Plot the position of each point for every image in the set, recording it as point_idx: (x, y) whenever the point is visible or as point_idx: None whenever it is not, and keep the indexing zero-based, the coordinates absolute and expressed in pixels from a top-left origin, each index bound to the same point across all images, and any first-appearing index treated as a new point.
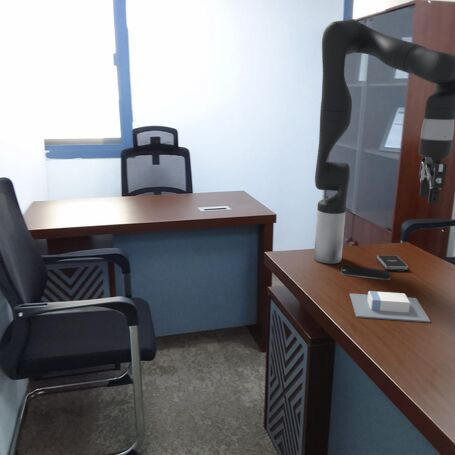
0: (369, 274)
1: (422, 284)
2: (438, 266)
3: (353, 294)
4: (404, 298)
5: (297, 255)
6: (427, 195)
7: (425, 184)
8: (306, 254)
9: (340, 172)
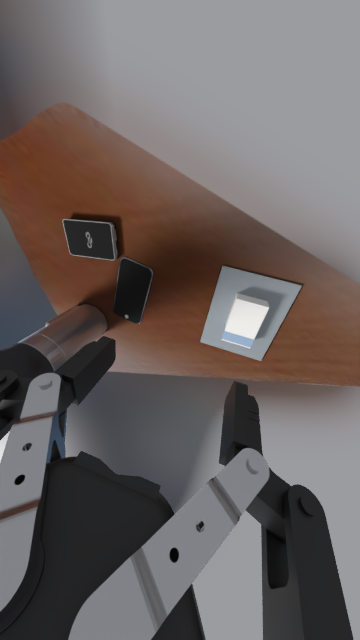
0: (137, 291)
1: (167, 223)
2: (79, 139)
3: (203, 339)
4: (253, 307)
5: None
6: (111, 343)
7: (79, 388)
8: None
9: None
